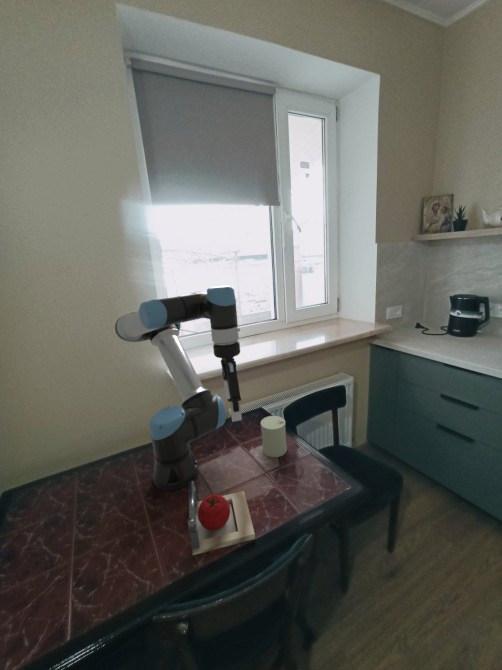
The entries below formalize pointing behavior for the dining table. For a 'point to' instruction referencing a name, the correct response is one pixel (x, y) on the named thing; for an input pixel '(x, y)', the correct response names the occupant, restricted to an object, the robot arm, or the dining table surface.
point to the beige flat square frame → (227, 526)
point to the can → (273, 436)
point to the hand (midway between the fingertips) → (233, 408)
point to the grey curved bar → (193, 516)
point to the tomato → (213, 512)
